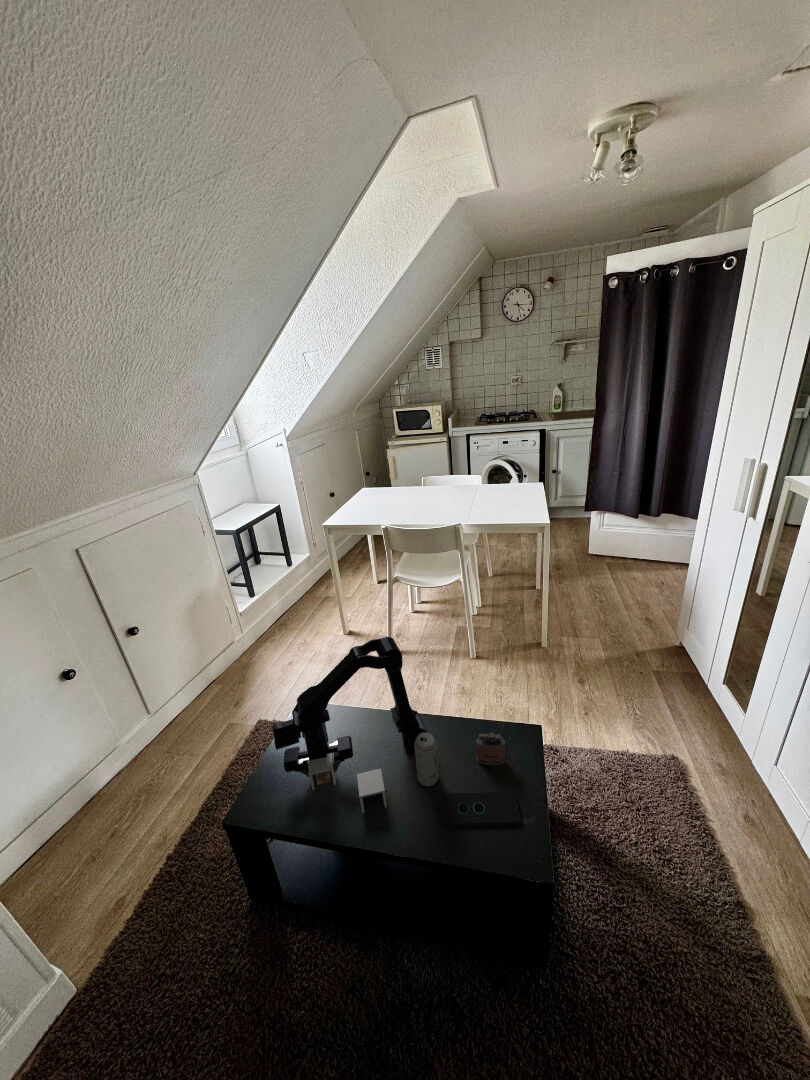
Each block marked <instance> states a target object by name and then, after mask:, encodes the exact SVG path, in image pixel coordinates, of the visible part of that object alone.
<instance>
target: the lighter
mask: <svg viewBox="0 0 810 1080" xmlns="http://www.w3.org/2000/svg"><path fill="white" fill-rule="evenodd" d="M475 742H476V743H475V744H476V763H478V764H480V765H485V766H500V765H504V764H505V763H506V762H505V761H506V758H505V747H506V741H505V738H503V737H502V736H501V734H499V733H498V734H495V732H489V733H479V734H478V737H477V738H476V741H475Z"/></svg>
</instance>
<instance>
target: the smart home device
mask: <svg viewBox="0 0 810 1080" xmlns="http://www.w3.org/2000/svg"><path fill="white" fill-rule="evenodd" d="M439 803H440V804H439V805H440V806H439V807H440V819H441V820H440V821H441V823H440V824H441V827H445V828H448V827H450V828H451V827H452V828H453V827H456V828H457V827H487V826H488V827H489V826H491V827H492V826H500V827H501V826H502V827H503V826H506V827H507V826H519V825H522V816H521V812H520V808H519V805H518V799H517V794H516V793H515V792H514V791H493V792H492V791H490V792H489V791H488V792H460V793H458V792H457V793H456V792H455V793H454V792H453V793H442V794H440V795H439Z"/></svg>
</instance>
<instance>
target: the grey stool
mask: <svg viewBox="0 0 810 1080" xmlns="http://www.w3.org/2000/svg"><path fill="white" fill-rule="evenodd" d="M382 772H383V771H382V768H377V769H376V768H375V769H373V770H368V771H365V772H360V773H356V778H357V787H358V795H359V803H360V807H361V812H362V814H365V805H364V798H366V797H370V796H374V795H378V794H382V800H383V805H384V806H383V807H384V808H387V807H388V804H387V797H386V791H385V790H386V789H385V785H384V778H383V773H382Z"/></svg>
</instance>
